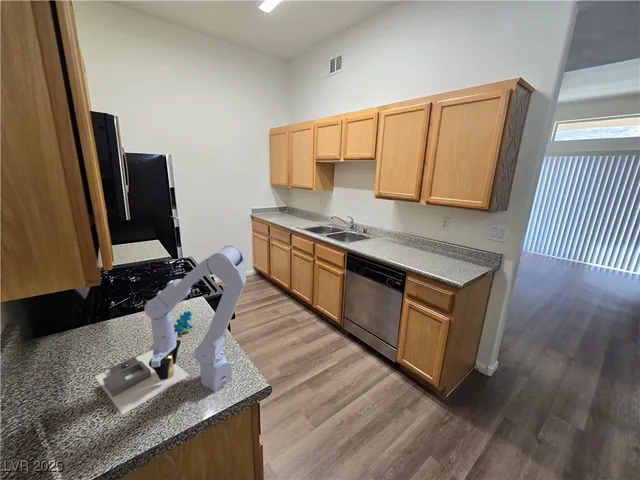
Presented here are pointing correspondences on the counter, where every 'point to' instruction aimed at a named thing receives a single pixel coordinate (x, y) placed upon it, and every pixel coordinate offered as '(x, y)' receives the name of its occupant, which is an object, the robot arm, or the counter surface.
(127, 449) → the counter surface
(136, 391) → the mat
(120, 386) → the plate
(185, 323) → the gear
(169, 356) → the pin
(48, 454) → the counter surface
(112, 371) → the plate
